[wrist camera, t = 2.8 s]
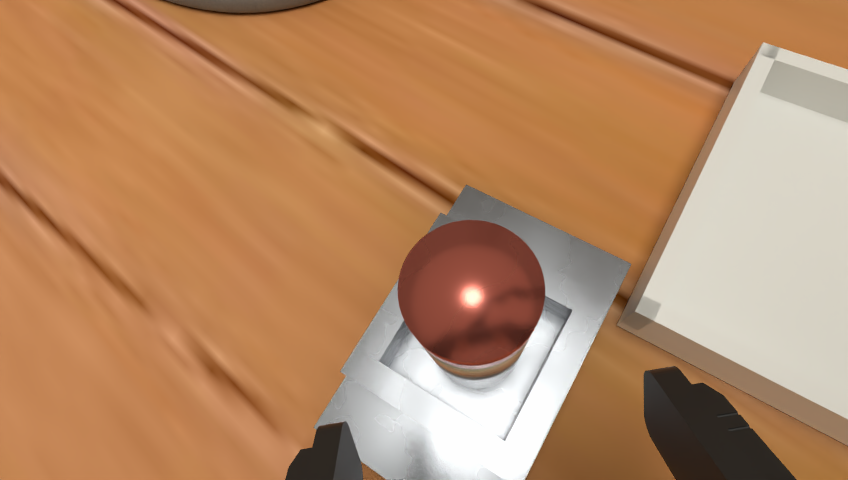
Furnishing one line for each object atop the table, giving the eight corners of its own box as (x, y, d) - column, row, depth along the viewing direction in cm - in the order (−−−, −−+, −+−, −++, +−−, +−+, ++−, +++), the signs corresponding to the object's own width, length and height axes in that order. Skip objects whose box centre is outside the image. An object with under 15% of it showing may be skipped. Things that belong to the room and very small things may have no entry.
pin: (460, 287, 23) (444, 197, 14) (534, 328, 22) (570, 260, 13) (417, 359, 22) (369, 313, 13) (493, 406, 21) (500, 392, 12)
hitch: (466, 191, 26) (464, 163, 23) (626, 268, 24) (645, 248, 21) (319, 427, 23) (296, 427, 20) (488, 548, 20) (489, 567, 17)
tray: (733, 82, 27) (763, 42, 24) (978, 168, 23) (1045, 133, 21) (616, 325, 23) (635, 311, 20) (891, 468, 19) (959, 475, 17)
